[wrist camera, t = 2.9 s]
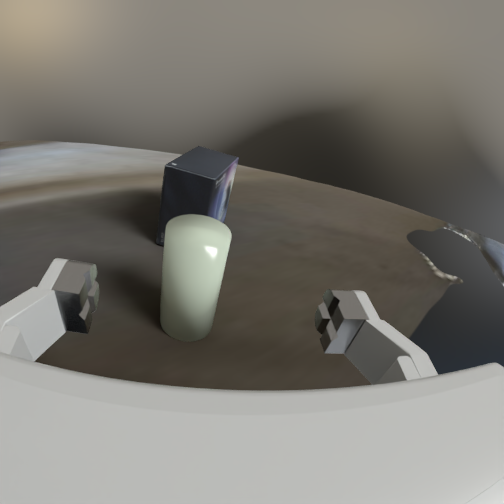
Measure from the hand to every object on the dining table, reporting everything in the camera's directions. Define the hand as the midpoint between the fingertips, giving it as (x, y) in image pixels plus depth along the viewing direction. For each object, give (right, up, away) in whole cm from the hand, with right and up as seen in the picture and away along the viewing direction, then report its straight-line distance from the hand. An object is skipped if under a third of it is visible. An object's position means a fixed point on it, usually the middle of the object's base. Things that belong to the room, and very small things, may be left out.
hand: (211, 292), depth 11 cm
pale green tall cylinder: (-5, -5, +18) cm, 19 cm away
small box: (-7, +4, +31) cm, 32 cm away
